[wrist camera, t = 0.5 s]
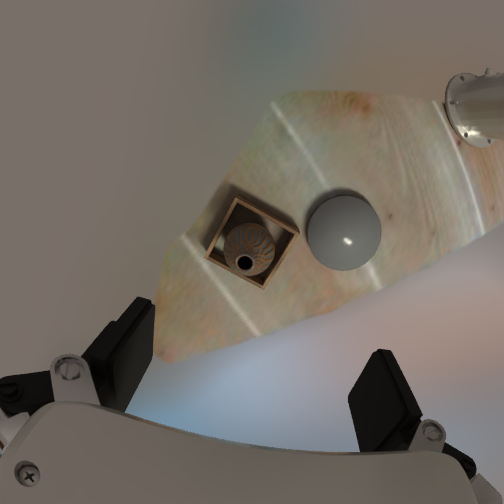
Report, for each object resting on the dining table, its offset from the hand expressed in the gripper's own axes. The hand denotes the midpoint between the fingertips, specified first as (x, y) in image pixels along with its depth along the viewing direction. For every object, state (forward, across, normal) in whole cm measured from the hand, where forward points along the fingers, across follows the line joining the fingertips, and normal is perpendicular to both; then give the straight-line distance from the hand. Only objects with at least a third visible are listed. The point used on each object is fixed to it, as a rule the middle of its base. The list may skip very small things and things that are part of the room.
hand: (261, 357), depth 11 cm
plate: (+31, -12, 0) cm, 33 cm away
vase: (+32, +1, +5) cm, 32 cm away
